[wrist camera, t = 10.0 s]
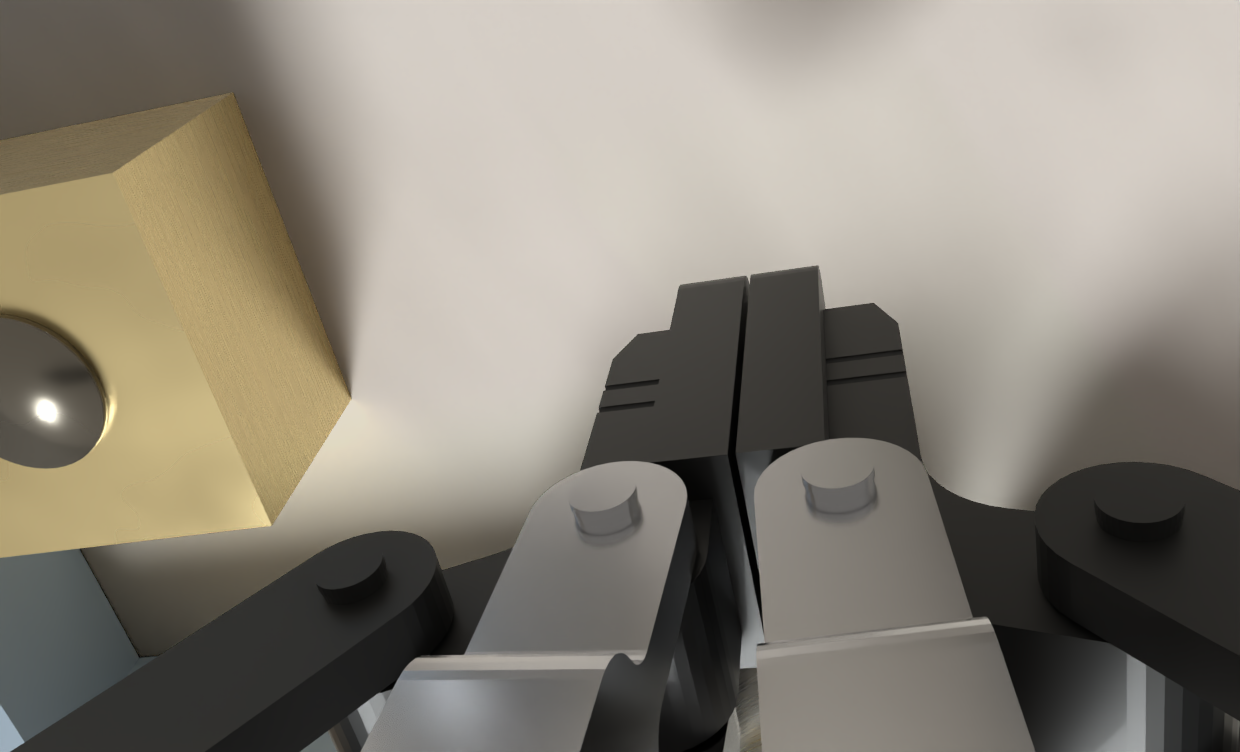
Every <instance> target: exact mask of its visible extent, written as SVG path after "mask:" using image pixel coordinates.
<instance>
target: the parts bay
mask: <svg viewBox="0 0 1240 752" xmlns="http://www.w3.org/2000/svg"><path fill="white" fill-rule="evenodd" d="M156 657H158V656H154V657H142V658H139V656H138V655H137V653H136V651H135V649H134V647H133V646H132V644H131V642H130V640H129V638H128V636H127V635H126V633H125V631H124V629H123V627H122V626H121V624H120V622H119V620H118V618H117V616H116V615H115V613H114V611H113V609H112V607H111V606H110V604H109V602H108V600H107V598H106V596H105V595H104V593H103V591H102V589H101V587H100V586H99V584H98V582H97V580H96V578H95V576H94V575H93V573H92V571H91V569H90V567H89V566H88V564H87V562H86V560H85V558H84V557H83V555H82V553H81V551H80V549H71V550H62V551H54V552H45V553H37V554H29V555H20V556H12V557H3V558H0V752H10V751H12V750H14V749H15V748H17V747H18V746H20V745H21V744H23V743H24V742H26V741H27V740H29V739H31V738H32V737H34V736H35V735H37V734H38V733H40V732H41V731H43V730H45V729H46V728H48V727H49V726H51V725H52V724H54V723H55V722H57V721H58V720H60V719H62V718H63V717H65V716H66V715H68V714H69V713H71V712H72V711H74V710H76V709H77V708H79V707H80V706H82V705H83V704H85V703H86V702H88V701H90V700H91V699H93V698H94V697H96V696H97V695H99V694H100V693H102V692H103V691H105V690H107V689H108V688H110V687H111V686H113V685H114V684H116V683H117V682H119V681H121V680H122V679H124V678H125V677H127V676H128V675H130V674H131V673H133V672H135V671H136V670H138V669H139V668H141V667H142V666H144V665H145V664H147V663H148V662H150V661H152V660H153V659H155V658H156ZM300 752H337V750H336V748H335V746H334V744H333V742H332V739H331V737H330V735H329V733H328V731H327V732H326V733H324V734H323V735H322V736H320V737H319V738H318V739H316V740H315V741H314V742H312V743H311V744H310V745H308V746H307V747H306V748H304V749H303V750H302V751H300Z"/></svg>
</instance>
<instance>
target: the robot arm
mask: <svg viewBox="0 0 1240 752" xmlns="http://www.w3.org/2000/svg"><path fill="white" fill-rule="evenodd" d="M605 388H606V391H603V395H602V398H601V402H600V405H599V413H597V415H596V419H595V422H594V426H593V429H592V432H591V436H590V439H589V443H588V446H587V449H586V453H585V456H584V460H583V463H582V466H581V470H580V471H579V472H577V473H574V474H572V475H570V476H568V477H566V478H564V479H562V480H561V481H559V482H558V483H556V484H555V485H553V486H552V487H550V488H549V489H548V490H547V491H546V492H544V493H543V494H542V495H541V496H540V497H539V499H538V500H537V501H536V502H535V503H534V505H533V507H532V508H531V510H530V512H529V514H528V516H527V518H526V521H525V523H524V525H523V527H522V529H521V531H520V534H519V536H518V538H517V540H516V542H515V545H514V547H513V548H511V549H508V550H506V551H503V552H500V553H497V554H494V555H491V556H488V557H484V558H481V559H478V560H475V561H471V562H468V563H465V564H461V565H458V566H455V567H452V568H448V569H445V570H441V568H440V565H439V562H438V559H437V557H436V554H435V551H434V549H433V547H432V546H431V545H430V543H429V542H428V541H426V540H425V539H424V538H422V537H420V536H418V535H415V534H412V533H408V532H402V531H381V532H374V533H368V534H364V535H360V536H356V537H353V538H350V539H347V540H345V541H342V542H339V543H337V544H335V545H333V546H331V547H329V548H326V549H325V550H323V551H321V552H320V553H318V554H316V555H314V556H313V557H311V558H310V559H308V560H307V561H305V562H304V563H302V564H300V565H299V566H297V567H296V568H294V569H293V570H291V571H290V572H288V573H287V574H285V575H283V576H282V577H280V578H279V579H277V580H276V581H274V582H273V583H271V584H269V585H268V586H266V587H265V588H263V589H262V590H260V591H259V592H257V593H255V594H254V595H252V596H251V597H249V598H248V599H246V600H245V601H243V602H242V603H240V604H238V605H237V606H235V607H234V608H232V609H231V610H229V611H228V612H226V613H224V614H223V615H221V616H220V617H218V618H217V619H215V620H214V621H212V622H211V623H209V624H207V625H206V626H204V627H203V628H201V629H200V630H198V631H197V632H195V633H193V634H192V635H190V636H189V637H187V638H186V639H184V640H183V641H181V642H179V643H178V644H176V645H175V646H173V647H172V648H170V649H169V650H167V651H166V652H164V653H162V654H161V655H159V656H158V657H156V658H155V659H153V660H152V661H150V662H148V663H147V664H145V665H144V666H142V667H141V668H139V669H138V670H136V671H135V672H133V673H131V674H130V675H128V676H127V677H125V678H124V679H122V680H121V681H119V682H117V683H116V684H114V685H113V686H111V687H110V688H108V689H107V690H105V691H103V692H102V693H100V694H99V695H97V696H96V697H94V698H93V699H91V700H90V701H88V702H86V703H85V704H83V705H82V706H80V707H79V708H77V709H76V710H74V711H72V712H71V713H69V714H68V715H66V716H65V717H63V718H62V719H60V720H58V721H57V722H55V723H54V724H52V725H51V726H49V727H48V728H46V729H45V730H43V731H41V732H40V733H38V734H37V735H35V736H34V737H32V738H31V739H29V740H27V741H26V742H24V743H23V744H21V745H20V746H18V747H17V748H15V749H14V750H12V751H10V752H300V751H302V750H303V749H304V748H306V747H307V746H308V745H310V744H311V743H312V742H314V741H315V740H316V739H318V738H319V737H320V736H322V735H323V734H324V733H326V732H327V731H328V733H329V735H330V737H331V739H332V742H333V744H334V746H335V748H336V750H337V752H739V750H740V743H741V731H740V725H739V721H738V716H737V712H736V707H735V706H736V703H737V698H738V689H739V673H740V668H755V667H757V679H758V695H759V711H760V727H761V743H762V752H1240V727H1239V725H1240V491H1239V490H1236V489H1234V488H1232V487H1229V486H1227V485H1225V484H1222V483H1220V482H1217V481H1215V480H1213V479H1210V478H1208V477H1206V476H1203V475H1200V474H1198V473H1195V472H1192V471H1189V470H1186V469H1182V468H1178V467H1174V466H1169V465H1163V464H1156V463H1143V462H1122V463H1111V464H1103V465H1098V466H1094V467H1089V468H1085V469H1083V470H1080V471H1077V472H1074V473H1071V474H1069V475H1068V476H1066V477H1064V478H1062V479H1060V480H1058V481H1057V482H1056V483H1054V484H1053V485H1051V486H1050V487H1049V488H1048V489H1047V490H1046V491H1045V492H1044V493H1043V494H1042V496H1041V498H1040V499H1039V501H1038V503H1037V505H1036V510H1035V512H1034V511H1025V510H1016V509H1007V508H1001V507H994V506H989V505H985V504H981V503H977V502H973V501H971V500H968V499H965V498H963V497H960V496H958V495H956V494H954V493H952V492H950V491H948V490H946V489H945V488H944V487H942V486H941V485H939V484H938V483H937V482H936V481H935V480H934V479H933V478H932V477H931V476H930V475H929V474H928V472H927V471H926V469H925V467H924V465H923V463H922V459H921V455H920V449H919V443H918V438H917V432H916V426H915V420H914V414H913V408H912V403H911V397H910V391H909V385H908V379H907V374H906V367H905V362H904V356H903V350H902V344H901V338H900V332H899V327H898V323H897V322H896V321H895V320H894V319H892V318H891V317H890V316H889V315H887V314H886V313H885V312H884V311H883V310H881V309H880V308H879V307H878V306H877V305H875V304H874V303H870V304H863V305H855V306H847V307H840V308H832V309H825V302H824V295H823V288H822V282H821V276H820V270H819V266H811V267H803V268H796V269H789V270H782V271H775V272H768V273H761V274H754V275H751V278H750V284H749V281H748V278H747V276H741V277H733V278H726V279H719V280H712V281H705V282H698V283H691V284H683V285H680V286H679V289H678V294H677V299H676V304H675V308H674V313H673V318H672V322H671V327H670V330H666V331H658V332H651V333H643V334H638V335H637V336H636V337H635V338H634V339H633V340H632V341H631V342H630V343H629V344H628V345H627V346H626V347H625V348H624V349H623V350H622V351H621V352H620V353H619V354H618V355H617V356H616V357H615V358H614V359H613V361H612V364H611V367H610V371H609V374H608V378H607V381H606V385H605Z"/></svg>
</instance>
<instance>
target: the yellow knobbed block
mask: <svg viewBox="0 0 1240 752" xmlns="http://www.w3.org/2000/svg"><path fill="white" fill-rule="evenodd" d="M350 400H351V396H350V394H349V391H348V389H347V386H346V383H345V381H344V378H343V376H342V373H341V371H340V368H339V365H338V363H337V360H336V358H335V355H334V352H333V350H332V347H331V345H330V342H329V339H328V337H327V334H326V332H325V329H324V326H323V324H322V321H321V319H320V316H319V314H318V311H317V308H316V306H315V303H314V301H313V298H312V295H311V293H310V290H309V288H308V285H307V282H306V280H305V277H304V275H303V272H302V270H301V267H300V264H299V262H298V259H297V257H296V254H295V251H294V249H293V246H292V244H291V241H290V238H289V236H288V233H287V231H286V228H285V226H284V223H283V220H282V218H281V215H280V213H279V210H278V207H277V205H276V202H275V200H274V197H273V194H272V192H271V189H270V187H269V184H268V182H267V179H266V176H265V174H264V171H263V169H262V166H261V163H260V161H259V158H258V156H257V153H256V150H255V148H254V145H253V143H252V140H251V137H250V135H249V132H248V130H247V127H246V125H245V122H244V119H243V117H242V114H241V112H240V109H239V106H238V104H237V101H236V99H235V96H234V93H233V92H232V93H227V94H223V95H218V96H213V97H208V98H203V99H198V100H193V101H189V102H184V103H179V104H174V105H169V106H164V107H160V108H155V109H150V110H145V111H140V112H135V113H130V114H126V115H121V116H116V117H111V118H106V119H101V120H97V121H92V122H87V123H82V124H77V125H72V126H67V127H63V128H58V129H53V130H48V131H43V132H38V133H34V134H29V135H24V136H19V137H14V138H9V139H4V140H0V558H3V557H12V556H20V555H29V554H37V553H45V552H54V551H62V550H71V549H79V548H88V547H96V546H105V545H113V544H122V543H130V542H139V541H147V540H156V539H164V538H173V537H181V536H190V535H198V534H206V533H215V532H223V531H232V530H240V529H249V528H257V527H266V526H272V525H273V523H274V521H275V520H276V518H277V517H278V515H279V513H280V512H281V510H282V509H283V507H284V505H285V504H286V502H287V501H288V499H289V497H290V496H291V494H292V493H293V491H294V490H295V488H296V486H297V485H298V483H299V482H300V480H301V478H302V477H303V475H304V474H305V472H306V470H307V469H308V467H309V466H310V464H311V462H312V461H313V459H314V458H315V456H316V454H317V453H318V451H319V450H320V448H321V446H322V445H323V443H324V442H325V440H326V439H327V437H328V435H329V434H330V432H331V431H332V429H333V427H334V426H335V424H336V423H337V421H338V419H339V418H340V416H341V415H342V413H343V411H344V410H345V408H346V407H347V405H348V403H349V402H350Z"/></svg>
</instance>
